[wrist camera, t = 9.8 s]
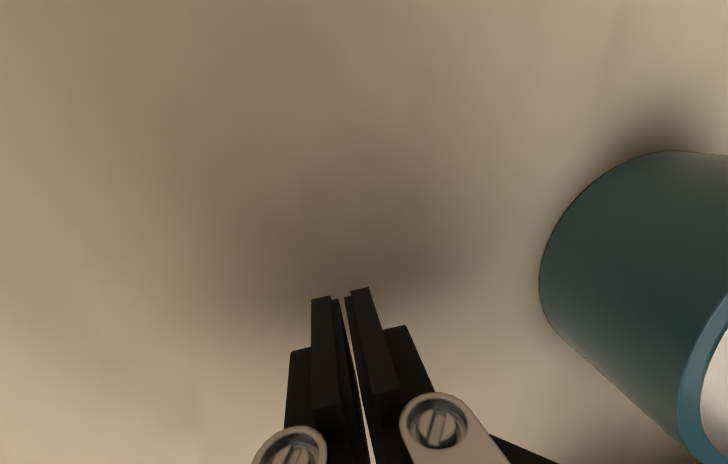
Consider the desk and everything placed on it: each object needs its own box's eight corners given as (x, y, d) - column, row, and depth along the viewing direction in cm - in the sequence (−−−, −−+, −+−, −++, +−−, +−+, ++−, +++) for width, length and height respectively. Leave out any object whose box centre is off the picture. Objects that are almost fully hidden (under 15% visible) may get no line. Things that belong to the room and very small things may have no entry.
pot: (531, 152, 11) (706, 183, 6) (762, 94, 12) (1099, 80, 7) (544, 394, 14) (663, 539, 10) (722, 342, 15) (924, 455, 10)
